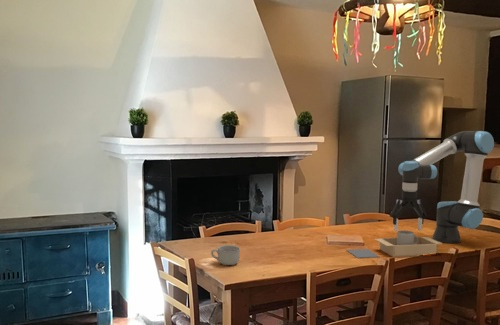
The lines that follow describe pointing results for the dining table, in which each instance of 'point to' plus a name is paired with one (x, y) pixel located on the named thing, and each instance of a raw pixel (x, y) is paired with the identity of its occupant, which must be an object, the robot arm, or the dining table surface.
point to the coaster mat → (362, 253)
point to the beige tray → (408, 247)
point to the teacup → (227, 254)
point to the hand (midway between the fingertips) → (407, 230)
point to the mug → (406, 238)
